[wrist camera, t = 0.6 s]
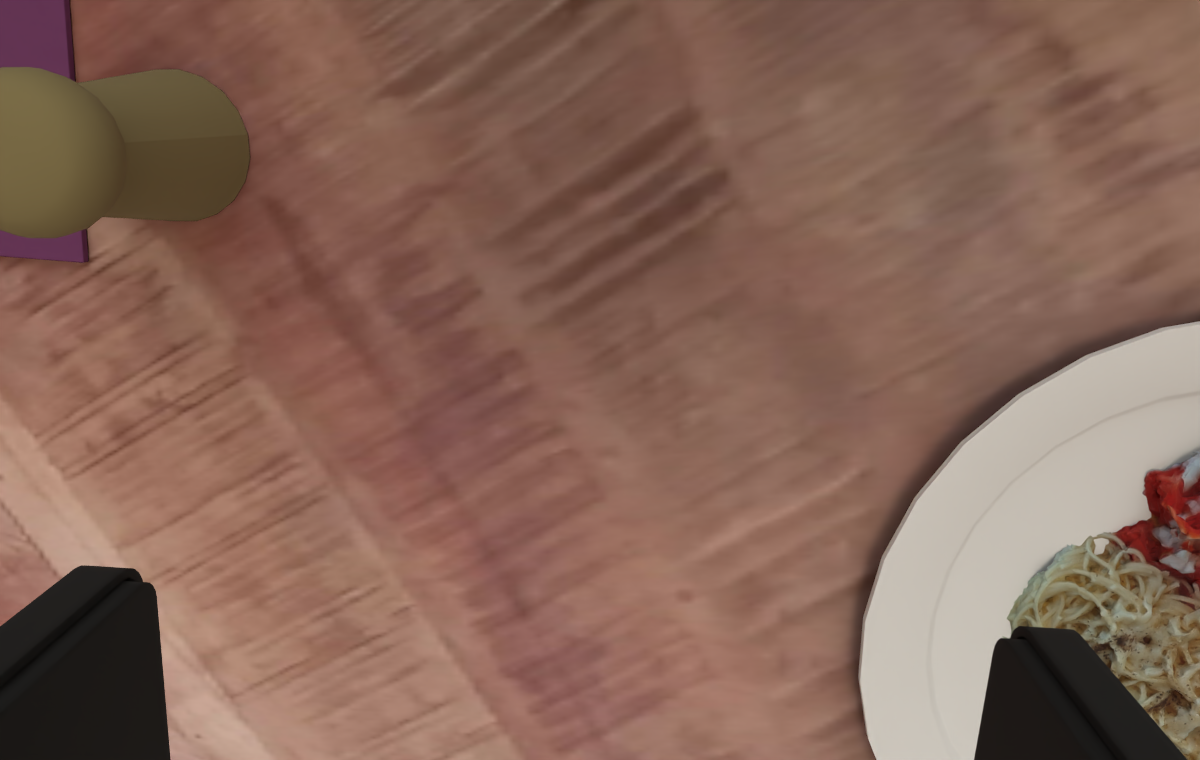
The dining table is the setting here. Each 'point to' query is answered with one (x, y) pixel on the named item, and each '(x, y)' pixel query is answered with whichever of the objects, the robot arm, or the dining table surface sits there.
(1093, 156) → the dining table surface
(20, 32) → the placemat
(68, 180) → the pepper mill
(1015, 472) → the plated food
